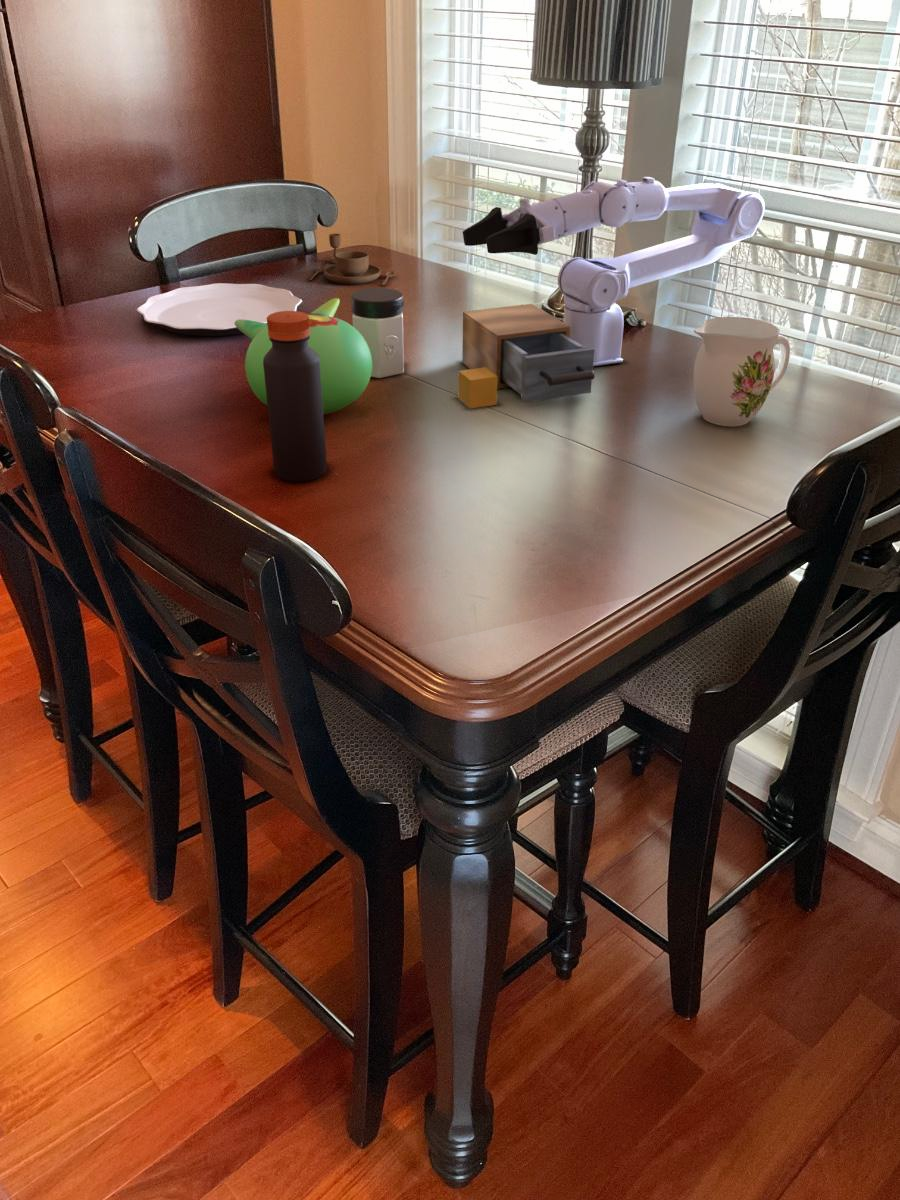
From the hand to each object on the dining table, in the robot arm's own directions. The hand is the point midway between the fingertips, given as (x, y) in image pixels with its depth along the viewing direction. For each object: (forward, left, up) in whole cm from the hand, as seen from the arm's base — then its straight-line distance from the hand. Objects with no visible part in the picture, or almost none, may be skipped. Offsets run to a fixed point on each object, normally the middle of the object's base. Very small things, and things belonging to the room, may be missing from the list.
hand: (475, 242), depth 144 cm
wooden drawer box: (-7, -1, -21) cm, 22 cm away
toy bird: (+28, +4, -21) cm, 35 cm away
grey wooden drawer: (-7, +10, -20) cm, 24 cm away
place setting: (-2, -68, -21) cm, 71 cm away
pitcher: (-28, +29, -21) cm, 46 cm away
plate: (+31, -47, -21) cm, 60 cm away
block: (+4, +10, -21) cm, 23 cm away
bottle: (+35, +24, -21) cm, 47 cm away
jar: (+13, -9, -21) cm, 26 cm away
